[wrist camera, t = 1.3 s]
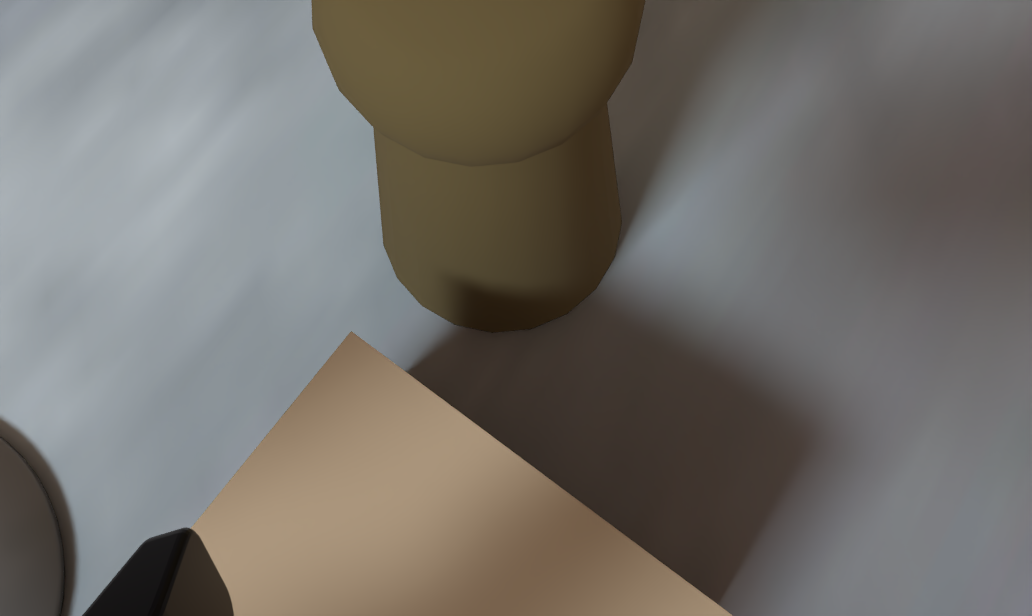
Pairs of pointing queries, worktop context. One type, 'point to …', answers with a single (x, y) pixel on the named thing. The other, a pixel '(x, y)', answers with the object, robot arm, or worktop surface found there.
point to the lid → (415, 516)
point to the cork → (489, 145)
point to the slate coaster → (27, 542)
